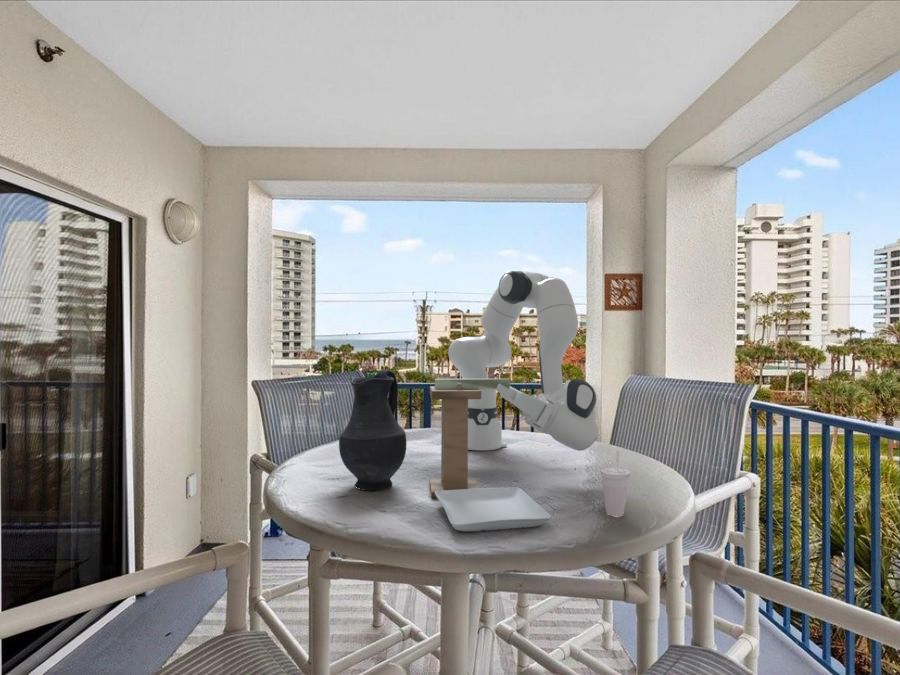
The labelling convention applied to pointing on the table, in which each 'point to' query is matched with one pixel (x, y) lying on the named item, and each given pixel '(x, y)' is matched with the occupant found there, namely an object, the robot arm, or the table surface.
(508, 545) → the table surface
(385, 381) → the pitcher
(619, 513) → the smoothie
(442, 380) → the bar
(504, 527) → the salad plate
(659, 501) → the table surface
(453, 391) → the shelf stand
